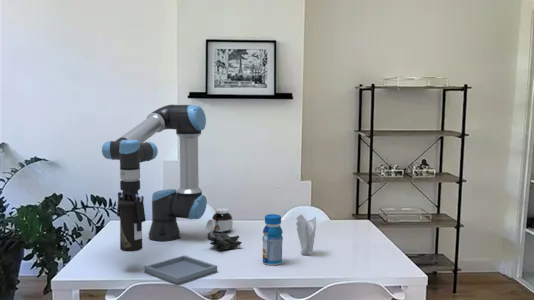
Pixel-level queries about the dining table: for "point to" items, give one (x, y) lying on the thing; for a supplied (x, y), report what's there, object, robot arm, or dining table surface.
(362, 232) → the dining table surface
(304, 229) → the shell sculpture
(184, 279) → the tray
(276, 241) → the beverage bottle
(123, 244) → the container
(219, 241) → the mineral specimen
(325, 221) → the dining table surface
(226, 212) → the spread jar
